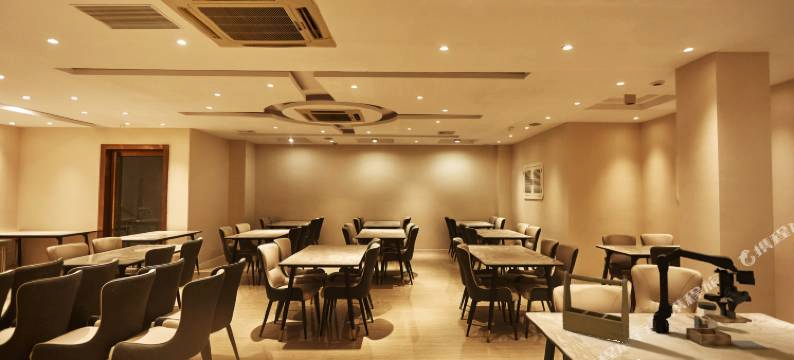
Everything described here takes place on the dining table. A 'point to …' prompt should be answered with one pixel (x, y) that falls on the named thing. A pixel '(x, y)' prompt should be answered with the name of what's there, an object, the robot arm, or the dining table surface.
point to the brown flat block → (708, 337)
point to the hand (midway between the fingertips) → (728, 315)
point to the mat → (747, 345)
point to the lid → (728, 317)
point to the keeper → (697, 322)
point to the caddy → (595, 313)
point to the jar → (708, 312)
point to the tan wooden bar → (691, 315)
